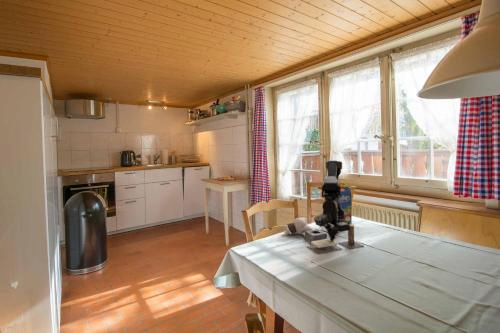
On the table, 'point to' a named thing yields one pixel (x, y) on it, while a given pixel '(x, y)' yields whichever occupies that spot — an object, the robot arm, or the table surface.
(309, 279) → the table surface
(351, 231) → the stylus
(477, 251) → the table surface
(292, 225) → the toy
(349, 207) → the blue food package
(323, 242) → the rocker
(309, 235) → the grey square block
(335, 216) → the robot arm
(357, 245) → the pad
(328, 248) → the rocker housing
